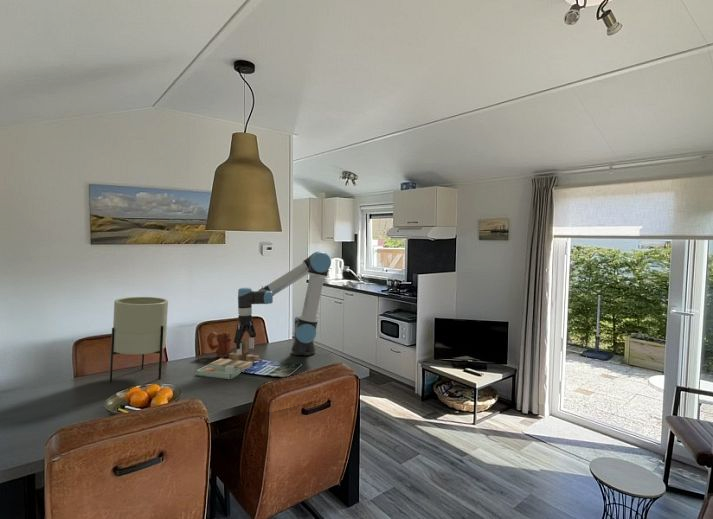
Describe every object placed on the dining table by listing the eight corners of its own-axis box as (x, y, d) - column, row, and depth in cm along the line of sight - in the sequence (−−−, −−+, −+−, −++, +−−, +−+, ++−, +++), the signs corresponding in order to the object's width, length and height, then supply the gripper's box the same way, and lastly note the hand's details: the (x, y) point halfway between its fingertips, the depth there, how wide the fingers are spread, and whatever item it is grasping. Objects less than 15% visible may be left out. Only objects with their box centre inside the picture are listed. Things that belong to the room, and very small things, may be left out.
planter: (142, 389, 184) (147, 306, 183) (98, 381, 189) (102, 301, 187) (175, 373, 207) (179, 299, 206) (135, 367, 212) (138, 295, 210)
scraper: (259, 362, 227) (260, 341, 227) (256, 364, 223) (256, 343, 223) (232, 359, 232) (232, 338, 232) (228, 361, 228) (228, 340, 228)
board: (252, 367, 217) (252, 361, 217) (241, 373, 207) (241, 367, 207) (220, 363, 222) (220, 358, 222) (208, 369, 212) (208, 363, 212)
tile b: (210, 370, 203) (210, 374, 203) (215, 368, 207) (215, 371, 207) (203, 369, 204) (203, 373, 204) (208, 367, 208) (208, 371, 208)
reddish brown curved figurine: (233, 355, 240) (234, 330, 239) (228, 359, 232) (228, 333, 231) (210, 354, 241) (211, 329, 241) (204, 358, 233) (204, 332, 233)
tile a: (234, 365, 205) (232, 366, 203) (234, 373, 205) (232, 374, 203) (227, 365, 206) (225, 366, 204) (227, 372, 206) (225, 373, 204)
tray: (241, 373, 206) (241, 368, 206) (230, 379, 197) (230, 374, 197) (208, 369, 211) (208, 364, 211) (196, 375, 202) (196, 370, 202)
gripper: (250, 311, 240) (250, 345, 241) (226, 318, 216) (227, 356, 217) (261, 311, 238) (262, 346, 239) (239, 319, 214) (239, 357, 215)
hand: (245, 351), depth 228 cm, fingers open, 13 cm apart
